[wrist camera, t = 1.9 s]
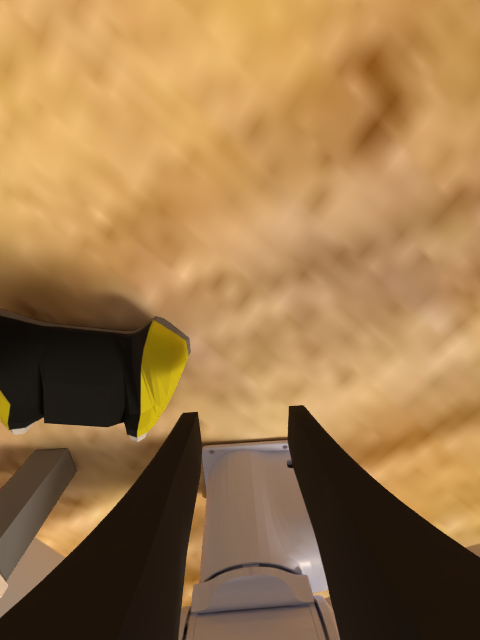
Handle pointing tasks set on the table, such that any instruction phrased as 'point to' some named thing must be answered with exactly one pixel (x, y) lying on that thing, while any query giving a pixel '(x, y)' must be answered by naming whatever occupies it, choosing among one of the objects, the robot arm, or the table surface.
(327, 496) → the robot arm
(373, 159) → the table surface
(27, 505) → the posts
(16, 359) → the black yellow sneaker
